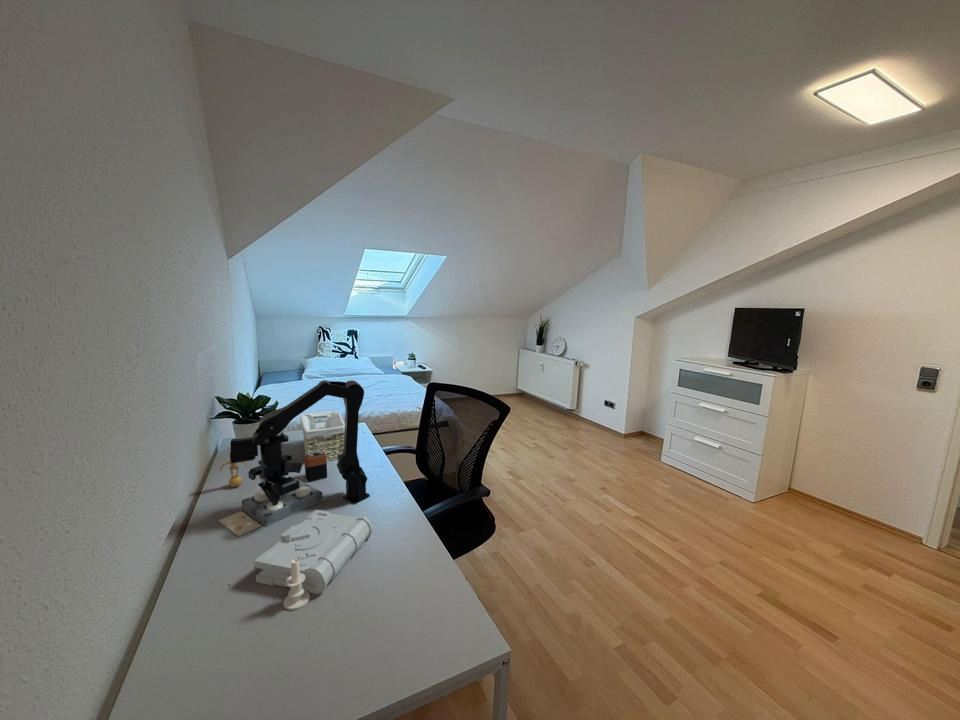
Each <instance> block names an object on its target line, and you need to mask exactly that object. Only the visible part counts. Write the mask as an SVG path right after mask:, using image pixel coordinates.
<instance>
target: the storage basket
mask: <svg viewBox="0 0 960 720" xmlns="http://www.w3.org/2000/svg"><path fill="white" fill-rule="evenodd" d="M325 418H327V421H324V422H315V420H316V419H318V420H319V419H325ZM300 423H301V431H302V434H303V445H304V452H305V455H307V454H308V453H316V452H317V451H319V450H322V451H323V452H324V453H325V454H326V457H327V462H329V461H335V460H338V457H337V455H342V453H343V450H344V431H345V420H344V419H343V417H342V415H341V412H339V411H337V410H332V411H331V410H329V411H321V412H320V411H318V412H310V413H309V412H308V413H301V415H300Z"/></svg>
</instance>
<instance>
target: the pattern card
mask: <svg viewBox="0 0 960 720" xmlns="http://www.w3.org/2000/svg"><path fill="white" fill-rule="evenodd" d="M219 522H220V523H221V524H222V525H223V526H224V527H226V528H228V530H230V531H231V532H233V534H235V535H236V536H237V537H240V536H243V535H244V534H246V533H249V532H251V531H253V530H255V529H258V528H260V527H261V524H260V523H258V522H257V521H256V520H254V519H252V518H251V517H250V516H248V515H247V514H246V513H244V512H243V511H239V512H236V513H234V514H231V515H229V516H227V517H224V518H222V519H219Z"/></svg>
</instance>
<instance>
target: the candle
mask: <svg viewBox="0 0 960 720" xmlns="http://www.w3.org/2000/svg"><path fill="white" fill-rule="evenodd" d="M304 580H305V575H304V574H302V573H300V571H299V561H298V560H295V559H294V560H292V561H291V576H290V577H289V578H288V579H287V580H286V584H287V585H288V586H291V587H290V589H289V590H288V593H287V594H288V595H287V596H286V597H285V598H284V600H283V607H284V609H286V610H288V611H296V610H297V611H298V610H300V609H302V608H304V607H305V606H306V605H307V604H308V603H309V601H310V599H311V597H310V592H307V591H305V590H304V587H302V584H301V583H302V582H303V581H304Z"/></svg>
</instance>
